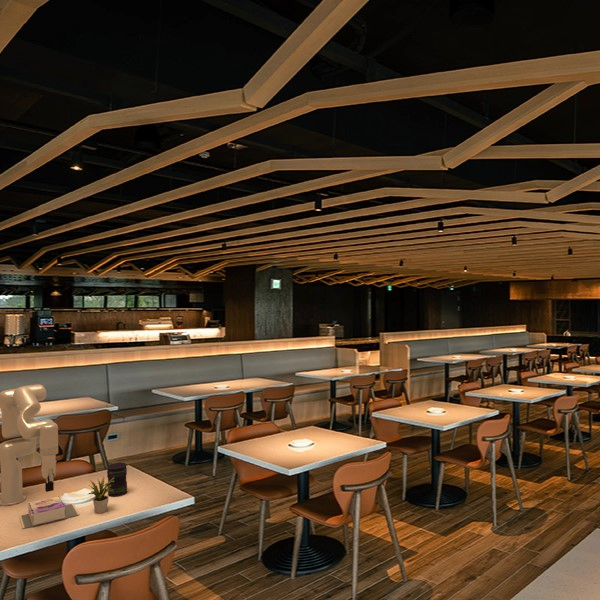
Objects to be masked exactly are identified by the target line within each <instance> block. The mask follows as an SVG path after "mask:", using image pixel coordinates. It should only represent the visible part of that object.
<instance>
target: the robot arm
mask: <svg viewBox="0 0 600 600" xmlns="http://www.w3.org/2000/svg"><path fill="white" fill-rule="evenodd" d="M46 398H47V390H46V388H45V386H44V385H43V384H40V383H38V384H31V385H30V384H27V385H23V386H19V387H17V388H10V389H6V390H2V391H1V392H0V412H1V435H2V437H3V438H4V439H8V440H5V441H3V442H1V443H0V486H1V488H0V490H1V498H0V506H3V507H4V506H5V507H7V506H13V505H18V504H21V503H23V502H24V501H26V500H27V496H26V495H25V494H23V490H24V489H23V467H22V463H21V462H20V461H19V460H18V459H17V458H21V457H26V456H29V455H32V454H34V453H35V451H36V449H37V439H38V438H39V456H40V457H41V470H40V472H41V475H42V477H43V479H45V483H44V487H45V492H46V493H47V492H53V491H54V487H55V485H54V484H55V483H54V477H56V475H57V473H56V472H57V462H56V459H57V458H56V457H57V456H56V455H57V454H59V426H58V424H57V423H56V422H54V420H53V419H42V420H37V421H36V420H35V418H34V416H36V415H37V414H38V413H39V412H40V411H41V408H42V405H41V403H40V402H43V401H44V400H45V399H46Z"/></svg>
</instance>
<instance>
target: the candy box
mask: <svg viewBox="0 0 600 600" xmlns="http://www.w3.org/2000/svg"><path fill="white" fill-rule="evenodd" d="M27 504H28V507H27V508H28V509H27V514H29V517H30V520H31V522H32V525H33V526H34V525H38V524H42V525H44V524H43V523H46V524H48V523H47V522H51V521H55V520H59V519H63V518H65V505H66V504H65V503H64V502H63V501H62V499H61V498H60V496H59V495H58V496H55V497H50V498H49V497H48V498H44V499H39V500H36V501H30V502H28V503H27ZM63 520H64V519H63ZM59 521H60V520H59ZM55 522H56V521H55ZM51 523H52V522H51ZM38 526H39V525H38ZM34 527H35V526H34Z"/></svg>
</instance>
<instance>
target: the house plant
mask: <svg viewBox="0 0 600 600" xmlns="http://www.w3.org/2000/svg"><path fill="white" fill-rule="evenodd" d="M113 479H114V478H113ZM111 480H112V479H111ZM111 480H110V481H109V482H108V481H107V482H106V483H105V477H104V476H103V477H102V480H101V481H100V480H99V478H97V482H98V483H97V484H98V485H97V484H96V483H95V482H93V481H92V480H89V482H90V483H91V484H92V485H88V486H89V487H90V488H91V489H92V490H91V491H90V492H88V493H87V495H94V498H93V499H92V502H93V506H94V508H93V509H94V512H95V514H104V513H106V512H107V511H108V505H109V504H108V503H109V496H108V495H106V493H108V491H112V490H109V489H111V488H109V487H110V485H109V483H110V482H114V481H113V480H112V481H111ZM108 485H109V487H108ZM113 492H114V491H113Z"/></svg>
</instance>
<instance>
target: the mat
mask: <svg viewBox="0 0 600 600" xmlns="http://www.w3.org/2000/svg"><path fill="white" fill-rule="evenodd" d="M64 505H65V518H63V519H59V520H55V521H51V522H47V523H43V524H38V525H34V526H33V525H32V522H31V520H30V517H29V514H28V513H26V514H23V515H22V514H20V515H18V518H19V522H20V525H21V528H22V530H25V529H30V528H33V527H39V526H42V525H46V524H50V523H53V522H58V521H62V520H66V519H71V518H75V517H79V516H80V512H79V511H78V509H77V506H76V505H75V503H74V502H73V503H69V504H64Z"/></svg>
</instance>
